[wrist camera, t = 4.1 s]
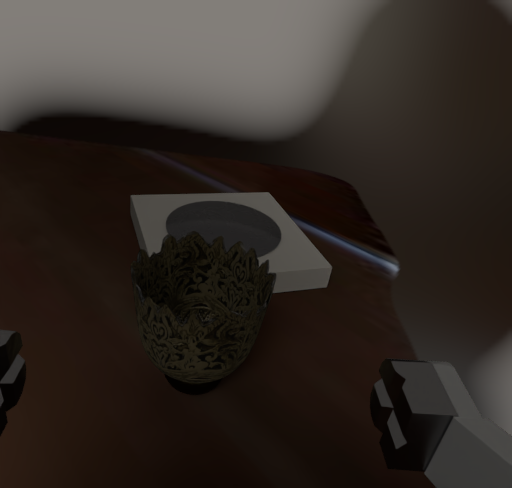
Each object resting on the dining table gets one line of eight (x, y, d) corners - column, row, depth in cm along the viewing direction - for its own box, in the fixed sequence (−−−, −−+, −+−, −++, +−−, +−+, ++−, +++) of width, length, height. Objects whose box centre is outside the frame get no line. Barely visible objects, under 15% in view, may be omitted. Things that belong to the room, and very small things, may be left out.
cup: (200, 454, 24) (216, 336, 20) (102, 380, 27) (98, 265, 23) (276, 372, 29) (301, 268, 25) (188, 319, 32) (197, 218, 28)
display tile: (130, 214, 44) (130, 193, 43) (265, 209, 49) (268, 190, 48) (156, 305, 33) (157, 280, 32) (326, 287, 38) (333, 265, 37)
